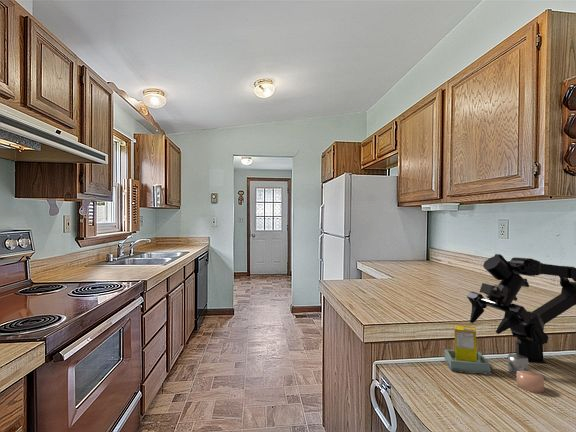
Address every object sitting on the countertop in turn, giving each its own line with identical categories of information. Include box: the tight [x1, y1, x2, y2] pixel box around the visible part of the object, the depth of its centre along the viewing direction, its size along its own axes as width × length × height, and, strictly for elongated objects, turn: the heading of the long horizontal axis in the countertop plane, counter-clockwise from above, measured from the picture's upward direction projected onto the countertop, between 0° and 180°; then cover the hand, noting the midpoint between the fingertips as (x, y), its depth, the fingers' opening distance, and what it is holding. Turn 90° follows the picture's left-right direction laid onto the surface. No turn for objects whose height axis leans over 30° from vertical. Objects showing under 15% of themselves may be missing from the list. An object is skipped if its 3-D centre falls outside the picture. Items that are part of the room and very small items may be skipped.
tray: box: [444, 348, 491, 375], centre depth 105 cm, size 11×11×3 cm
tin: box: [507, 353, 530, 376], centre depth 101 cm, size 5×5×4 cm
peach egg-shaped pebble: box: [516, 370, 545, 394], centre depth 90 cm, size 6×6×4 cm
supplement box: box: [454, 324, 478, 362], centre depth 106 cm, size 6×6×11 cm
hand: (483, 327), depth 107 cm, fingers open, 9 cm apart
